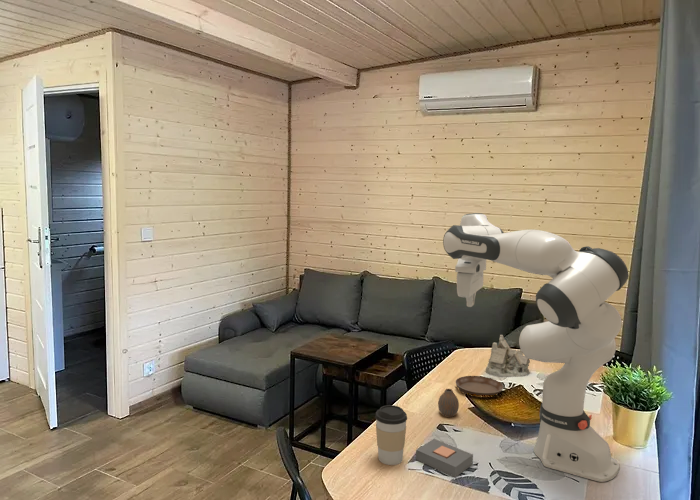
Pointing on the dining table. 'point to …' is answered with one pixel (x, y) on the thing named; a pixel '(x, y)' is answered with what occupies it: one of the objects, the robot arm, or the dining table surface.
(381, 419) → the coffee cup
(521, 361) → the ceramic cottage
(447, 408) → the vase
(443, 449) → the button
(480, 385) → the plant saucer
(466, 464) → the block
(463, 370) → the dining table surface
